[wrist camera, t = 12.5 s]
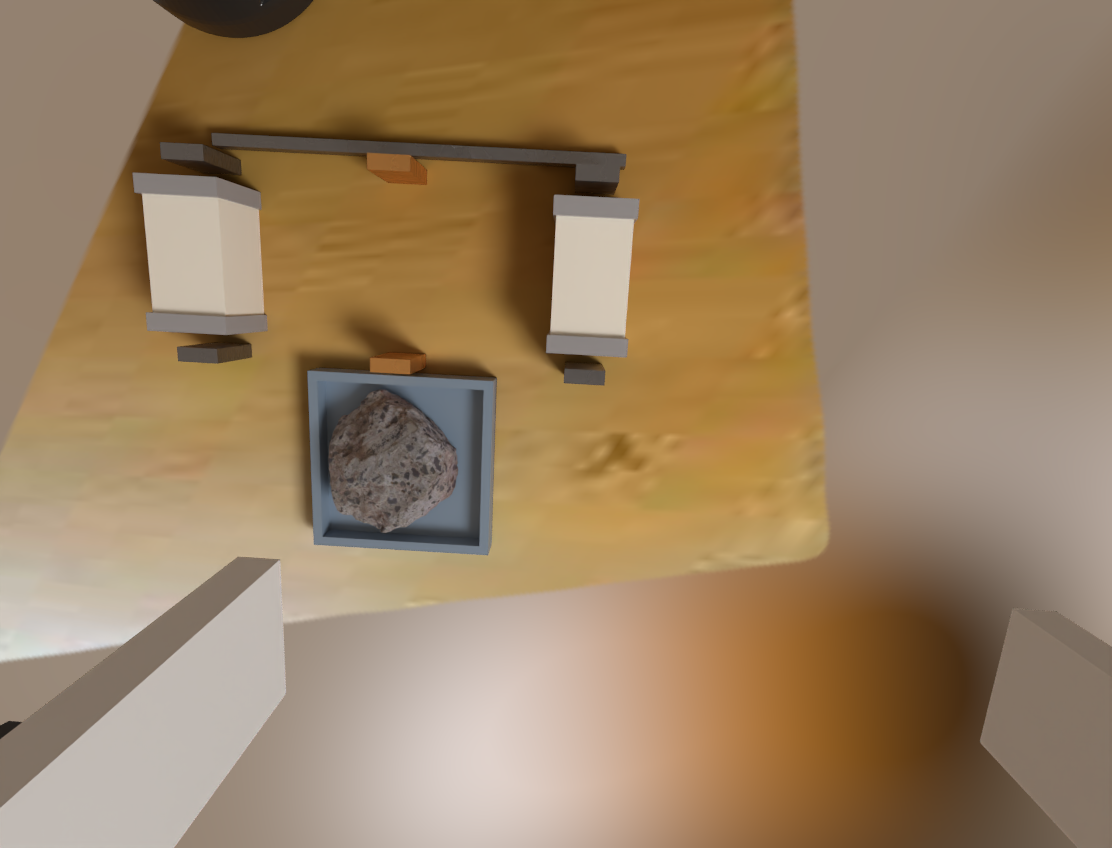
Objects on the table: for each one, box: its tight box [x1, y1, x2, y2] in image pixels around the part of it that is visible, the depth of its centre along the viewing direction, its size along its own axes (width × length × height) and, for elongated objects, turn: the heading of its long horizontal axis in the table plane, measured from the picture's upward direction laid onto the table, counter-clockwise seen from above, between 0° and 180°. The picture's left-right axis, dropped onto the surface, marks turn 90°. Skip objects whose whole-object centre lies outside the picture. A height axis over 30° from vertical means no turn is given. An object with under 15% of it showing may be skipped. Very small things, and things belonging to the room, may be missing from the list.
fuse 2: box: [546, 195, 639, 357], centre depth 40 cm, size 10×5×5 cm, turn 177°
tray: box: [307, 368, 497, 555], centre depth 45 cm, size 14×14×2 cm
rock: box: [328, 389, 458, 533], centre depth 44 cm, size 9×11×4 cm
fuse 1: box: [133, 173, 268, 335], centre depth 41 cm, size 10×5×5 cm, turn 177°
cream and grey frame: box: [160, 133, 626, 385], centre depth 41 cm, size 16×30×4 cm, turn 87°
